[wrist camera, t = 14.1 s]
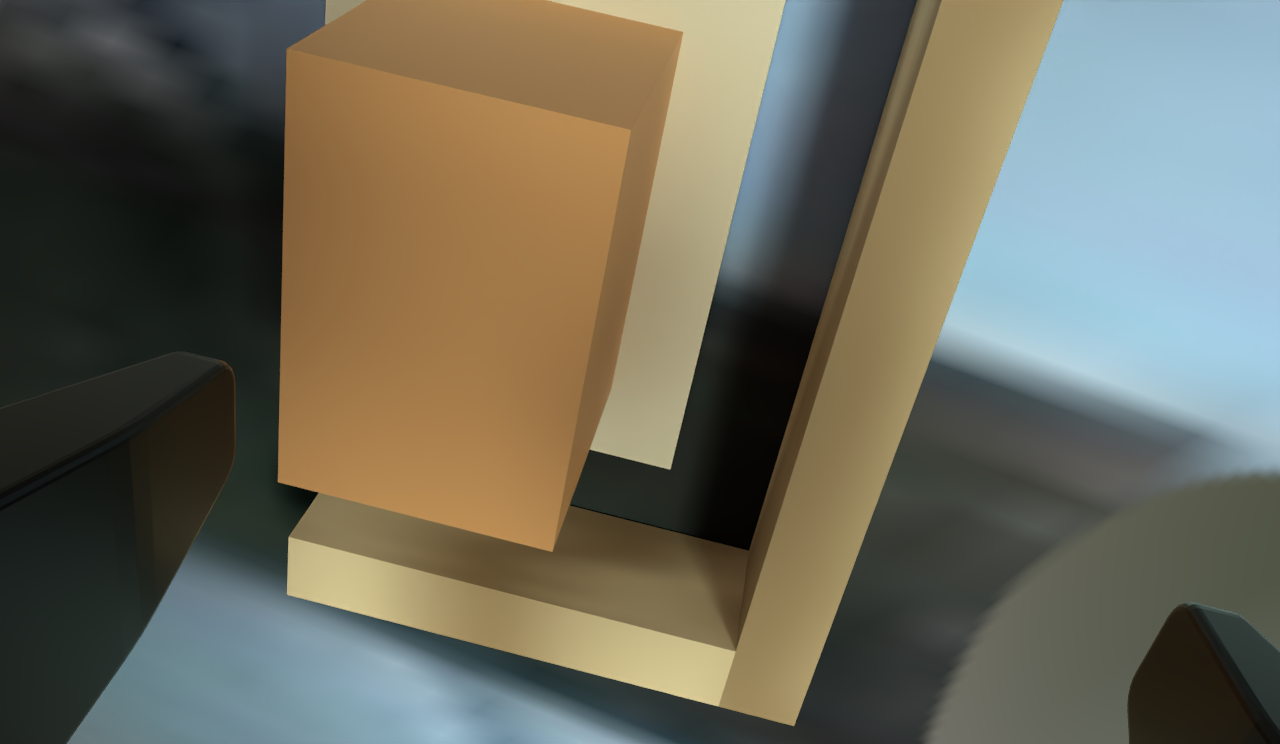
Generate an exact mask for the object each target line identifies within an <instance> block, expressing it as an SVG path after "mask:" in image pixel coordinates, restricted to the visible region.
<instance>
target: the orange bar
mask: <svg viewBox="0 0 1280 744" xmlns="http://www.w3.org/2000/svg"><path fill="white" fill-rule="evenodd" d="M682 37H683V32H682V31H677V30H673V29H669V28H664V27H660V26H656V25H651V24H647V23H643V22H638V21H634V20H630V19H625V18H621V17H617V16H612V15H608V14H604V13H599V12H595V11H591V10H587V9H582V8H578V7H574V6H569V5H565V4H561V3H556V2H552V1H548V0H366V1H365V2H363V3H361V4H360V5H358V6H356V7H355V8H353V9H351V10H350V11H348V12H346V13H345V14H343V15H342V16H340V17H338V18H337V19H335V20H333V21H332V22H330V23H328V24H327V25H325V26H323V27H322V28H320V29H318V30H317V31H315V32H313V33H312V34H310V35H308V36H307V37H305V38H303V39H302V40H300V41H298V42H297V43H295V44H293V45H292V46H290V47H289V48H287V54H286V104H285V154H284V203H283V253H282V303H281V353H280V402H279V452H278V482H279V483H283V484H287V485H291V486H295V487H299V488H303V489H307V490H311V491H315V492H319V493H322V494H326V495H330V496H334V497H338V498H342V499H346V500H350V501H354V502H358V503H362V504H366V505H370V506H374V507H378V508H381V509H385V510H389V511H393V512H397V513H401V514H405V515H409V516H413V517H417V518H421V519H425V520H429V521H433V522H436V523H440V524H444V525H448V526H452V527H456V528H460V529H464V530H468V531H472V532H476V533H480V534H484V535H488V536H492V537H495V538H499V539H503V540H507V541H511V542H515V543H519V544H523V545H527V546H531V547H535V548H539V549H543V550H547V551H551V552H553V549H554V546H555V544H556V541H557V538H558V535H559V532H560V530H561V527H562V524H563V521H564V519H565V516H566V513H567V510H568V508H569V505H570V502H571V499H572V497H573V494H574V491H575V488H576V485H577V483H578V480H579V477H580V474H581V472H582V469H583V466H584V463H585V461H586V458H587V455H588V452H589V450H590V447H591V444H592V441H593V439H594V436H595V433H596V430H597V427H598V425H599V422H600V419H601V416H602V414H603V411H604V408H605V405H606V403H607V400H608V397H609V394H610V392H611V388H612V383H613V379H614V374H615V369H616V364H617V359H618V354H619V349H620V344H621V339H622V334H623V329H624V324H625V319H626V314H627V309H628V304H629V299H630V294H631V289H632V285H633V280H634V275H635V270H636V265H637V260H638V255H639V250H640V245H641V240H642V235H643V230H644V225H645V220H646V215H647V210H648V205H649V200H650V195H651V191H652V186H653V181H654V176H655V171H656V166H657V161H658V156H659V151H660V146H661V141H662V136H663V131H664V126H665V121H666V116H667V111H668V106H669V101H670V97H671V92H672V87H673V82H674V77H675V72H676V67H677V62H678V57H679V52H680V47H681V42H682Z"/></svg>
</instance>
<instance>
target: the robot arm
mask: <svg viewBox="0 0 1280 744" xmlns="http://www.w3.org/2000/svg"><path fill="white" fill-rule="evenodd" d="M235 448H236V420H235V377H234V373H233V370H232V368H231V367H230V366H229V365H228V364H227V363H226V362H224V361H221V360H217V359H213V358H209V357H205V356H201V355H197V354H193V353H189V352H185V351H177V352H172V353H169V354H166V355H163V356H160V357H157V358H154V359H150V360H147V361H144V362H141V363H138V364H135V365H132V366H129V367H125V368H122V369H119V370H116V371H113V372H110V373H107V374H104V375H101V376H97V377H94V378H91V379H88V380H85V381H82V382H79V383H75V384H72V385H69V386H66V387H63V388H60V389H57V390H54V391H50V392H47V393H44V394H41V395H38V396H35V397H32V398H29V399H25V400H22V401H19V402H16V403H13V404H10V405H7V406H4V407H0V744H67V742H68V741H69V739H70V738H71V736H72V735H73V734H74V732H75V731H76V729H77V728H78V726H79V725H80V724H81V722H82V721H83V719H84V718H85V716H86V715H87V714H88V712H89V711H90V709H91V708H92V707H93V705H94V704H95V702H96V701H97V699H98V698H99V697H100V695H101V694H102V692H103V691H104V689H105V688H106V687H107V685H108V684H109V682H110V681H111V680H112V678H113V677H114V675H115V674H116V672H117V671H118V670H119V668H120V667H121V665H122V664H123V662H124V661H125V660H126V658H127V657H128V655H129V654H130V652H131V651H132V649H133V647H134V646H135V644H136V643H137V641H138V640H139V638H140V637H141V635H142V634H143V632H144V630H145V629H146V627H147V625H148V624H149V622H150V620H151V618H152V617H153V615H154V613H155V611H156V610H157V608H158V606H159V604H160V602H161V601H162V599H163V597H164V595H165V593H166V591H167V589H168V588H169V586H170V584H171V582H172V580H173V578H174V577H175V575H176V573H177V571H178V569H179V567H180V565H181V564H182V562H183V560H184V558H185V556H186V554H187V553H188V551H189V549H190V547H191V545H192V543H193V541H194V540H195V538H196V536H197V534H198V532H199V530H200V529H201V527H202V525H203V523H204V521H205V519H206V518H207V516H208V514H209V512H210V510H211V508H212V506H213V505H214V503H215V501H216V499H217V497H218V495H219V494H220V492H221V490H222V488H223V486H224V484H225V482H226V481H227V478H228V476H229V474H230V471H231V469H232V465H233V462H234V457H235ZM1128 728H1129V744H1280V651H1279V650H1278V649H1277V648H1276V647H1275V646H1274V645H1273V644H1271V643H1270V642H1269V641H1268V640H1267V639H1266V638H1265V637H1264V636H1263V635H1262V634H1261V633H1260V632H1259V631H1258V630H1257V629H1255V628H1254V627H1253V626H1252V625H1251V624H1250V623H1249V622H1248V621H1247V620H1246V619H1245V618H1243V617H1242V616H1240V615H1238V614H1236V613H1234V612H1230V611H1226V610H1222V609H1218V608H1213V607H1209V606H1205V605H1201V604H1197V603H1193V602H1187V603H1183V604H1181V605H1178V606H1177V607H1176V608H1175V609H1174V610H1173V611H1172V612H1171V614H1170V615H1169V616H1168V618H1167V620H1166V622H1165V623H1164V625H1163V627H1162V628H1161V630H1160V632H1159V634H1158V635H1157V637H1156V639H1155V641H1154V642H1153V644H1152V646H1151V648H1150V649H1149V651H1148V653H1147V654H1146V656H1145V658H1144V659H1143V661H1142V663H1141V665H1140V666H1139V668H1138V670H1137V671H1136V673H1135V675H1134V677H1133V680H1132V683H1131V686H1130V690H1129V695H1128Z"/></svg>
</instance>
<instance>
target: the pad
mask: <svg viewBox="0 0 1280 744" xmlns="http://www.w3.org/2000/svg"><path fill="white" fill-rule="evenodd" d="M365 1H366V0H326V11H325V25H327V24H328V23H330V22H332V21H333V20H335V19H337V18H338V17H340V16H342V15H343V14H345V13H346V12H348V11H350V10H351V9H353V8H355V7H356V6H358V5H360V4H361V3H363V2H365ZM548 1H552V2H556V3H561V4H565V5H569V6H574V7H578V8H582V9H587V10H591V11H595V12H599V13H604V14H608V15H612V16H617V17H621V18H625V19H630V20H634V21H638V22H643V23H647V24H651V25H656V26H660V27H664V28H669V29H673V30H677V31H682V32H683V37H682V42H681V47H680V52H679V57H678V62H677V67H676V72H675V77H674V82H673V87H672V92H671V97H670V101H669V106H668V111H667V116H666V121H665V126H664V131H663V136H662V141H661V146H660V151H659V156H658V161H657V166H656V171H655V176H654V181H653V186H652V191H651V195H650V200H649V205H648V210H647V215H646V220H645V225H644V230H643V235H642V240H641V245H640V250H639V255H638V260H637V265H636V270H635V275H634V280H633V285H632V289H631V294H630V299H629V304H628V309H627V314H626V319H625V324H624V329H623V334H622V339H621V344H620V349H619V354H618V359H617V364H616V369H615V374H614V379H613V383H612V388H611V392H610V394H609V397H608V400H607V403H606V405H605V408H604V411H603V414H602V416H601V419H600V422H599V425H598V427H597V430H596V433H595V436H594V439H593V441H592V444H591V447H590V450H594V451H598V452H602V453H606V454H610V455H614V456H618V457H622V458H626V459H630V460H634V461H638V462H642V463H646V464H650V465H654V466H658V467H662V468H666V469H671V465H672V461H673V457H674V453H675V449H676V445H677V441H678V437H679V432H680V428H681V424H682V420H683V416H684V412H685V408H686V404H687V400H688V396H689V392H690V388H691V384H692V380H693V376H694V371H695V367H696V363H697V359H698V355H699V351H700V347H701V343H702V339H703V335H704V331H705V327H706V323H707V319H708V314H709V310H710V306H711V302H712V298H713V294H714V290H715V286H716V282H717V278H718V274H719V270H720V266H721V262H722V257H723V253H724V249H725V245H726V241H727V237H728V233H729V229H730V225H731V221H732V217H733V213H734V209H735V205H736V201H737V196H738V192H739V188H740V184H741V180H742V176H743V172H744V168H745V164H746V160H747V156H748V152H749V148H750V144H751V139H752V135H753V131H754V127H755V123H756V119H757V115H758V111H759V107H760V103H761V99H762V95H763V91H764V87H765V82H766V78H767V74H768V70H769V66H770V62H771V58H772V54H773V50H774V46H775V42H776V38H777V34H778V30H779V26H780V21H781V17H782V13H783V9H784V5H785V1H786V0H548Z"/></svg>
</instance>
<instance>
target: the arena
mask: <svg viewBox="0 0 1280 744" xmlns="http://www.w3.org/2000/svg"><path fill="white" fill-rule="evenodd" d="M1062 3H1063V0H917V1H916V5H915V8H914V11H913V15H912V18H911V21H910V24H909V28H908V31H907V34H906V37H905V41H904V44H903V47H902V51H901V54H900V57H899V60H898V64H897V67H896V70H895V74H894V77H893V80H892V83H891V87H890V90H889V93H888V96H887V100H886V103H885V106H884V110H883V113H882V116H881V119H880V123H879V126H878V129H877V133H876V136H875V139H874V142H873V146H872V149H871V152H870V155H869V159H868V162H867V165H866V169H865V172H864V175H863V178H862V182H861V185H860V188H859V192H858V195H857V198H856V201H855V205H854V208H853V211H852V214H851V218H850V221H849V224H848V228H847V231H846V234H845V237H844V241H843V244H842V247H841V251H840V254H839V257H838V260H837V264H836V267H835V270H834V273H833V277H832V280H831V283H830V287H829V290H828V293H827V296H826V300H825V303H824V306H823V310H822V313H821V316H820V319H819V323H818V326H817V329H816V332H815V336H814V339H813V342H812V346H811V349H810V352H809V355H808V359H807V362H806V365H805V369H804V372H803V375H802V378H801V382H800V385H799V388H798V391H797V395H796V398H795V401H794V405H793V408H792V411H791V414H790V418H789V421H788V424H787V428H786V431H785V434H784V437H783V441H782V444H781V447H780V450H779V454H778V457H777V460H776V464H775V467H774V470H773V473H772V477H771V480H770V483H769V487H768V490H767V493H766V496H765V500H764V503H763V506H762V510H761V513H760V516H759V519H758V523H757V526H756V529H755V532H754V536H753V539H752V542H751V546H750V549H749V551H748V550H744V549H740V548H736V547H732V546H728V545H724V544H720V543H716V542H712V541H708V540H704V539H700V538H696V537H692V536H689V535H685V534H681V533H677V532H673V531H669V530H665V529H661V528H657V527H653V526H649V525H645V524H641V523H637V522H633V521H629V520H625V519H621V518H617V517H613V516H609V515H605V514H601V513H597V512H593V511H589V510H586V509H582V508H578V507H574V506H570V505H569V508H568V510H567V513H566V516H565V519H564V521H563V524H562V527H561V530H560V532H559V535H558V538H557V541H556V544H555V546H554V549H553V552H551V551H547V550H543V549H539V548H535V547H531V546H527V545H523V544H519V543H515V542H511V541H507V540H503V539H499V538H495V537H492V536H488V535H484V534H480V533H476V532H472V531H468V530H464V529H460V528H456V527H452V526H448V525H444V524H440V523H436V522H433V521H429V520H425V519H421V518H417V517H413V516H409V515H405V514H401V513H397V512H393V511H389V510H385V509H381V508H378V507H374V506H370V505H366V504H362V503H358V502H354V501H350V500H346V499H342V498H338V497H334V496H330V495H326V494H322V493H318V495H317V496H316V498H315V499H314V501H313V502H312V504H311V505H310V507H309V508H308V509H307V511H306V512H305V514H304V515H303V517H302V518H301V520H300V521H299V523H298V524H297V526H296V527H295V528H294V530H293V531H292V533H291V534H290V536H289V544H288V580H287V595H290V596H294V597H298V598H302V599H306V600H310V601H314V602H317V603H321V604H325V605H329V606H333V607H337V608H341V609H344V610H348V611H352V612H356V613H360V614H364V615H368V616H371V617H375V618H379V619H383V620H387V621H391V622H395V623H398V624H402V625H406V626H410V627H414V628H418V629H422V630H425V631H429V632H433V633H437V634H441V635H445V636H449V637H452V638H456V639H460V640H464V641H468V642H472V643H476V644H479V645H483V646H487V647H491V648H495V649H499V650H503V651H506V652H510V653H514V654H518V655H522V656H526V657H530V658H533V659H537V660H541V661H545V662H549V663H553V664H557V665H560V666H564V667H568V668H572V669H576V670H580V671H584V672H587V673H591V674H595V675H599V676H603V677H607V678H611V679H614V680H618V681H622V682H626V683H630V684H634V685H638V686H641V687H645V688H649V689H653V690H657V691H661V692H665V693H668V694H672V695H676V696H680V697H684V698H688V699H692V700H695V701H699V702H703V703H707V704H711V705H715V706H719V707H722V708H726V709H730V710H734V711H738V712H742V713H746V714H749V715H753V716H757V717H761V718H765V719H769V720H773V721H776V722H780V723H784V724H788V725H792V726H794V724H795V722H796V719H797V716H798V714H799V711H800V708H801V706H802V703H803V700H804V698H805V695H806V692H807V689H808V687H809V684H810V681H811V679H812V676H813V673H814V671H815V668H816V665H817V663H818V660H819V657H820V654H821V652H822V649H823V646H824V644H825V641H826V638H827V636H828V633H829V630H830V628H831V625H832V622H833V619H834V617H835V614H836V611H837V609H838V606H839V603H840V601H841V598H842V595H843V593H844V590H845V587H846V584H847V582H848V579H849V576H850V574H851V571H852V568H853V566H854V563H855V560H856V558H857V555H858V552H859V549H860V547H861V544H862V541H863V539H864V536H865V533H866V531H867V528H868V525H869V523H870V520H871V517H872V514H873V512H874V509H875V506H876V504H877V501H878V498H879V496H880V493H881V490H882V488H883V485H884V482H885V479H886V477H887V474H888V471H889V469H890V466H891V463H892V461H893V458H894V455H895V453H896V450H897V447H898V444H899V442H900V439H901V436H902V434H903V431H904V428H905V426H906V423H907V420H908V418H909V415H910V412H911V409H912V407H913V404H914V401H915V399H916V396H917V393H918V391H919V388H920V385H921V383H922V380H923V377H924V374H925V372H926V369H927V366H928V364H929V361H930V358H931V356H932V353H933V350H934V348H935V345H936V342H937V339H938V337H939V334H940V331H941V329H942V326H943V323H944V321H945V318H946V315H947V313H948V310H949V307H950V304H951V302H952V299H953V296H954V294H955V291H956V288H957V286H958V283H959V280H960V278H961V275H962V272H963V269H964V267H965V264H966V261H967V259H968V256H969V253H970V251H971V248H972V245H973V243H974V240H975V237H976V234H977V232H978V229H979V226H980V224H981V221H982V218H983V216H984V213H985V210H986V208H987V205H988V202H989V199H990V197H991V194H992V191H993V189H994V186H995V183H996V181H997V178H998V175H999V173H1000V170H1001V167H1002V164H1003V162H1004V159H1005V156H1006V154H1007V151H1008V148H1009V146H1010V143H1011V140H1012V138H1013V135H1014V132H1015V129H1016V127H1017V124H1018V121H1019V119H1020V116H1021V113H1022V111H1023V108H1024V105H1025V103H1026V100H1027V97H1028V94H1029V92H1030V89H1031V86H1032V84H1033V81H1034V78H1035V76H1036V73H1037V70H1038V67H1039V65H1040V62H1041V59H1042V57H1043V54H1044V51H1045V49H1046V46H1047V43H1048V41H1049V38H1050V35H1051V32H1052V30H1053V27H1054V24H1055V22H1056V19H1057V16H1058V14H1059V11H1060V8H1061V6H1062Z"/></svg>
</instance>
